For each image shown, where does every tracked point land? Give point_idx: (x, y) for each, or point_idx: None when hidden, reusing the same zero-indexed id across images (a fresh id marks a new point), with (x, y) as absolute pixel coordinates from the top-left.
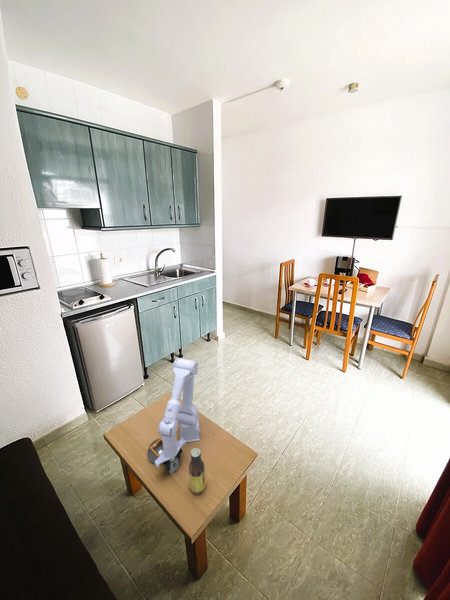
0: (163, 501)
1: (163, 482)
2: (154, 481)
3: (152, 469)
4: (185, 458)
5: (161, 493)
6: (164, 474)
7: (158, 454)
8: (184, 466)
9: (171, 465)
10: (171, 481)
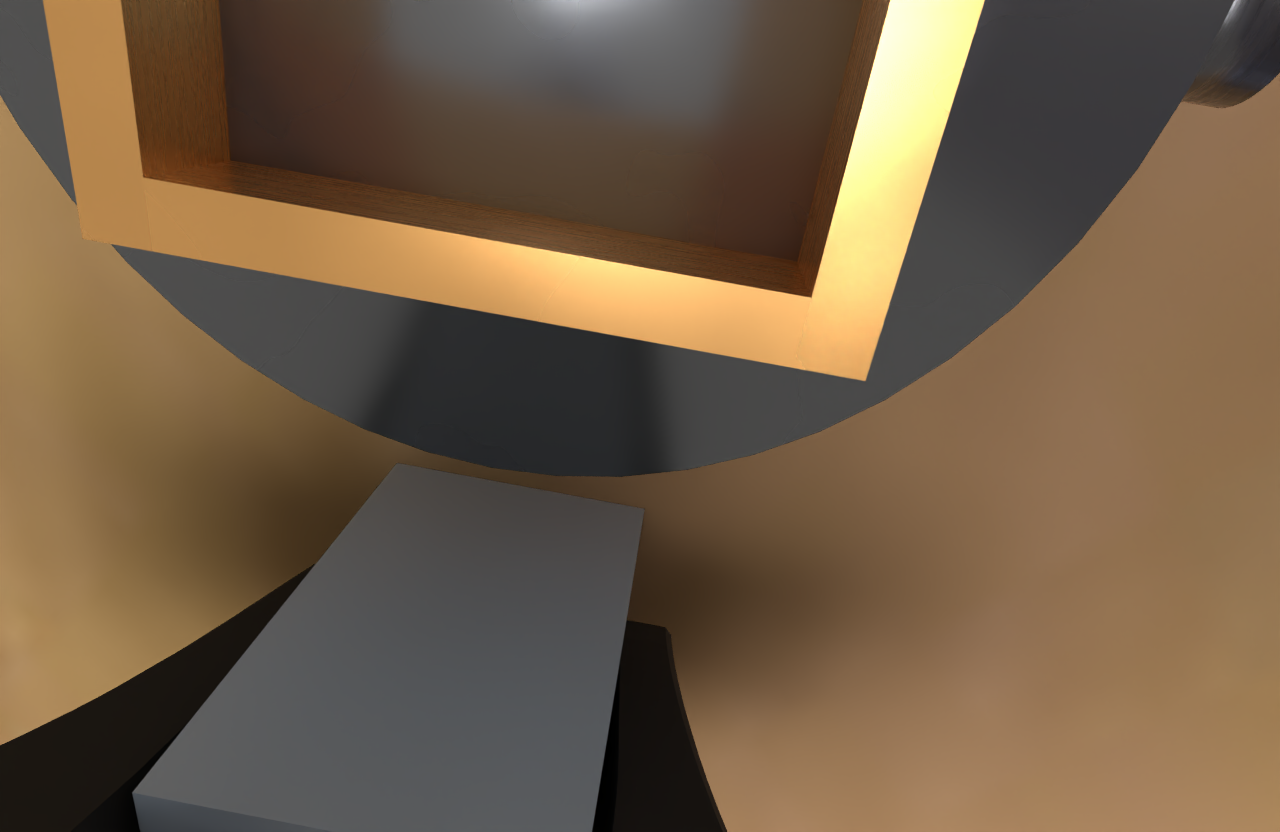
0: None
1: (163, 622)
2: (5, 452)
3: None
4: (874, 701)
5: (37, 707)
6: (271, 536)
7: (170, 189)
8: None
9: None
10: None
